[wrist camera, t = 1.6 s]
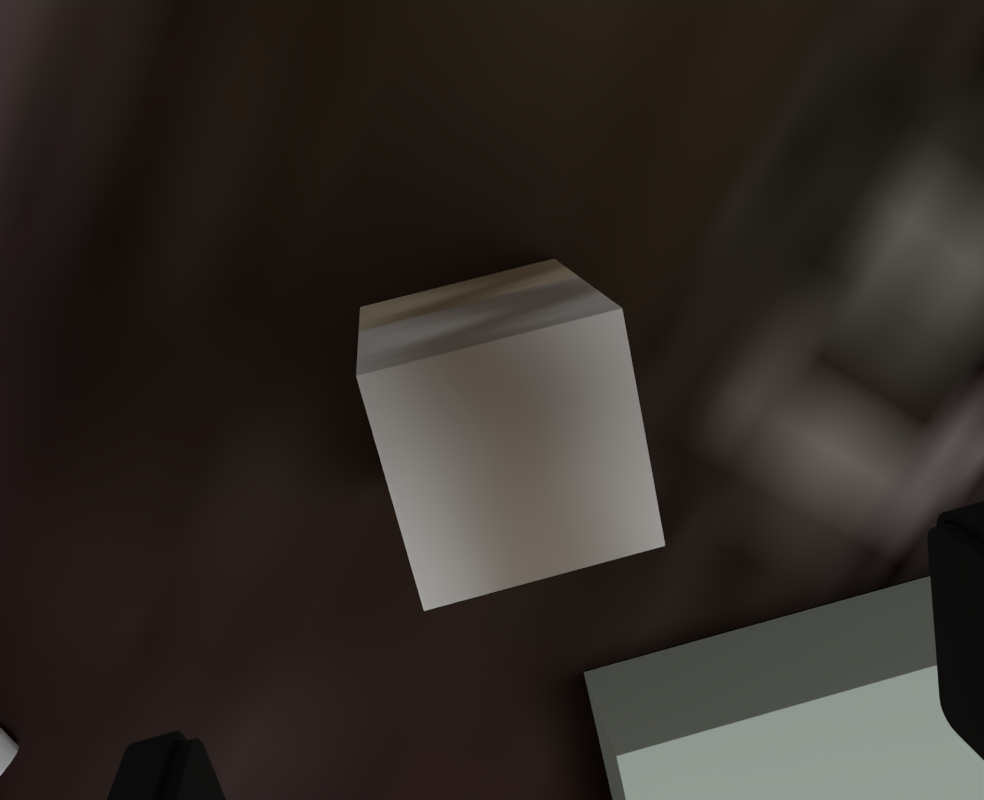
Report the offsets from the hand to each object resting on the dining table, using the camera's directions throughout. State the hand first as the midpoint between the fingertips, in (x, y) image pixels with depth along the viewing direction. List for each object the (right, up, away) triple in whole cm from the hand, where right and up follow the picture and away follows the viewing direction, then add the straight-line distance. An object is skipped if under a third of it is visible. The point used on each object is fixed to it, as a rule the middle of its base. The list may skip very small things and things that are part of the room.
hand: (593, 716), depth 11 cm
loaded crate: (-2, +5, +14) cm, 15 cm away
